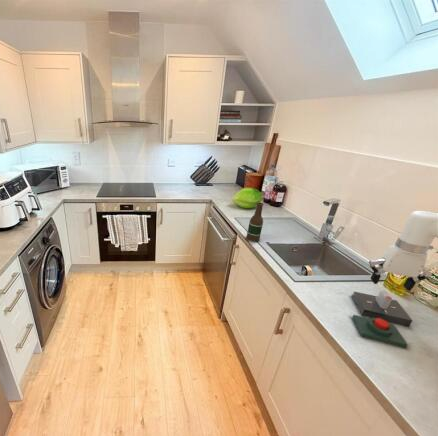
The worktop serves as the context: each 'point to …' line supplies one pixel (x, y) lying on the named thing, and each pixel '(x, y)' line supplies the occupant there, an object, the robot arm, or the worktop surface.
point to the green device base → (378, 331)
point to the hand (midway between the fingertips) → (389, 285)
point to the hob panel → (381, 309)
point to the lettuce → (247, 198)
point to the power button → (381, 323)
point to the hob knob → (383, 299)
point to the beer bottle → (255, 225)
